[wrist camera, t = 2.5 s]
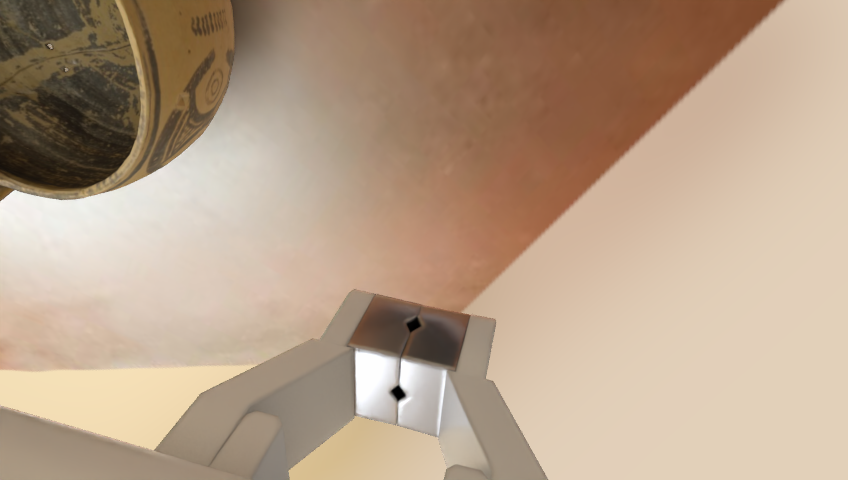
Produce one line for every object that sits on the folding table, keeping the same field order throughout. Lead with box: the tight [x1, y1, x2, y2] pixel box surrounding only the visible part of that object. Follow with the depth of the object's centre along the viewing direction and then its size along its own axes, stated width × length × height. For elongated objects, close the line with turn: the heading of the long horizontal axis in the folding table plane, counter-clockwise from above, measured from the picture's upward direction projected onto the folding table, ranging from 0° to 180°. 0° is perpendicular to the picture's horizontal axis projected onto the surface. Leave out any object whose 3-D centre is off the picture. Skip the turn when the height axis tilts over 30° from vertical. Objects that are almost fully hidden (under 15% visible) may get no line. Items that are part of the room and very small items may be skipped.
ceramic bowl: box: [0, 0, 234, 201], centre depth 22 cm, size 22×17×15 cm
